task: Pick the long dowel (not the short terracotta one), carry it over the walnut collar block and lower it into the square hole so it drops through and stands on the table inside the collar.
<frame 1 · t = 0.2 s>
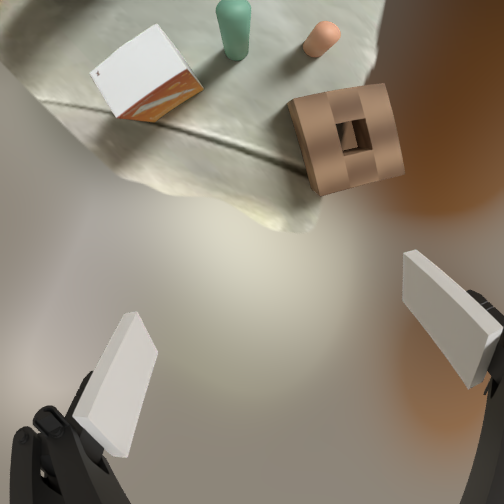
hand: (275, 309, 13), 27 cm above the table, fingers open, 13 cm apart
short dowel: (313, 47, 31), on the table
small box: (168, 88, 33), on the table
long dowel: (236, 50, 31), on the table
collar block: (341, 136, 36), on the table
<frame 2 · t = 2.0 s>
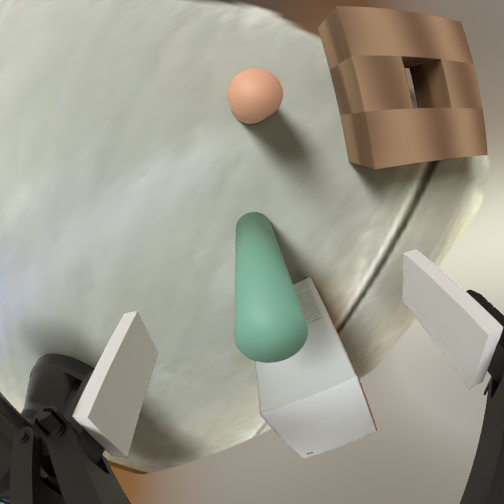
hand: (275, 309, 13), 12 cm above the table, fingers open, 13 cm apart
short dowel: (250, 105, 21), on the table
small box: (295, 318, 29), on the table
long dowel: (254, 229, 25), on the table
collar block: (396, 88, 20), on the table
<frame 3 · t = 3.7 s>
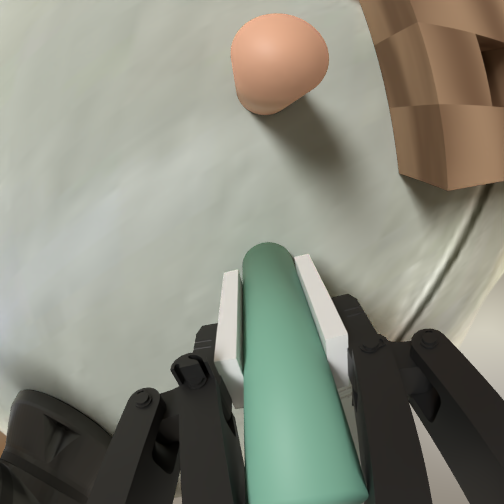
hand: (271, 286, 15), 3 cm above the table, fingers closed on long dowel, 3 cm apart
short dowel: (264, 88, 14), on the table
small box: (316, 368, 22), on the table
long dowel: (267, 265, 18), on the table, touching gripper
collar block: (454, 78, 13), on the table
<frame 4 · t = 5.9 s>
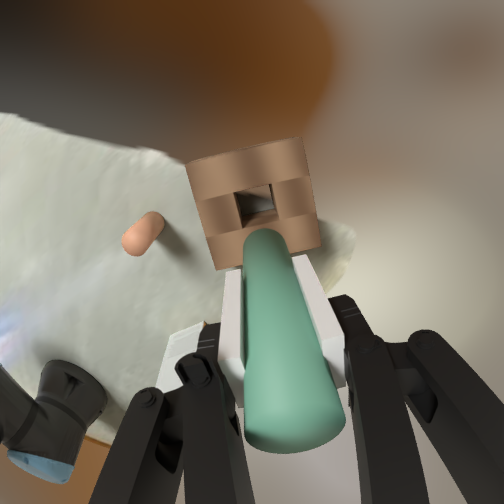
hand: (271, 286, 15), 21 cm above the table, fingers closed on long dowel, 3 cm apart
short dowel: (153, 222, 35), on the table
small box: (201, 344, 43), on the table
long dowel: (264, 249, 20), point 16 cm above the table, touching gripper
collar block: (254, 196, 35), on the table
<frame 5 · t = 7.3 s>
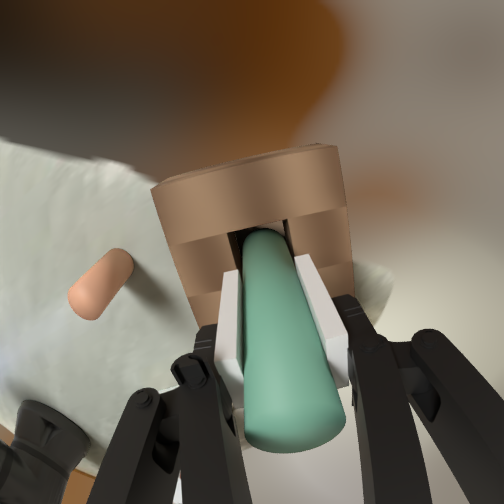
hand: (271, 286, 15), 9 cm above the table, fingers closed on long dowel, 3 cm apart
short dowel: (119, 263, 25), on the table
long dowel: (264, 248, 20), point 4 cm above the table, touching gripper
collar block: (259, 230, 24), on the table
when the fingers open (7 cm above the table, at t = 8.4 s): long dowel drops 1 cm, resting in collar block.
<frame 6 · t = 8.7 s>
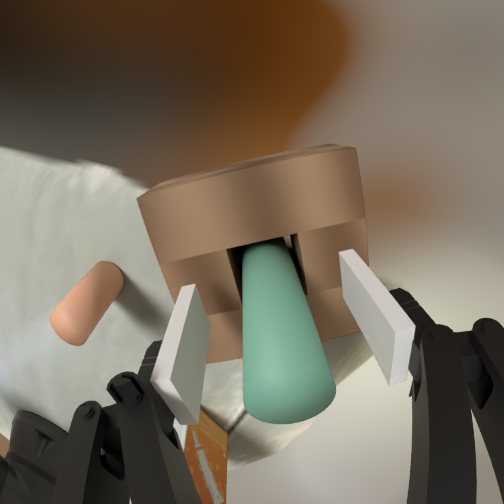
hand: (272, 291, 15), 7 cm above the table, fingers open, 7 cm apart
short dowel: (108, 277, 22), on the table
small box: (189, 420, 30), on the table
long dowel: (263, 242, 21), resting in collar block
collar block: (263, 241, 21), on the table
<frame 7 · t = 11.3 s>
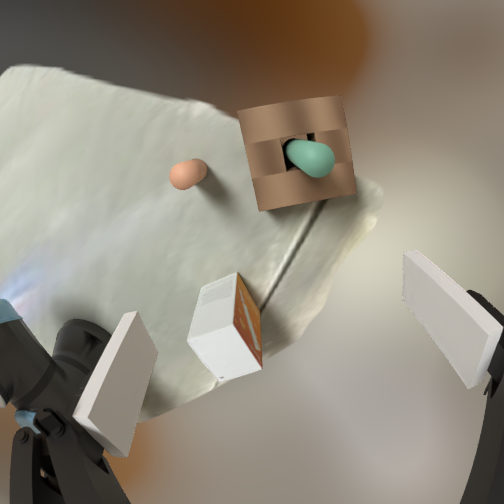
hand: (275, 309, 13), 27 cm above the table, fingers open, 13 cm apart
short dowel: (196, 170, 37), on the table
small box: (231, 298, 45), on the table
long dowel: (294, 149, 36), resting in collar block
collar block: (294, 149, 36), on the table
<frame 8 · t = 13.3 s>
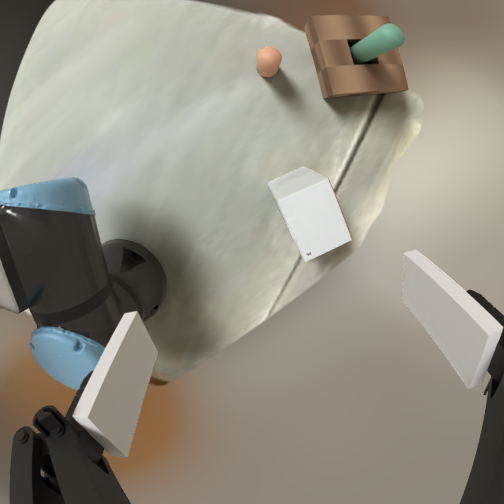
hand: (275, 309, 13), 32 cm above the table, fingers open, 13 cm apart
short dowel: (267, 68, 36), on the table
small box: (296, 196, 44), on the table
long dowel: (350, 59, 35), resting in collar block
collar block: (351, 58, 35), on the table
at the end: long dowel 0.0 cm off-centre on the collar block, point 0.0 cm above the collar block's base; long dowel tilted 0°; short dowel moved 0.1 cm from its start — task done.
